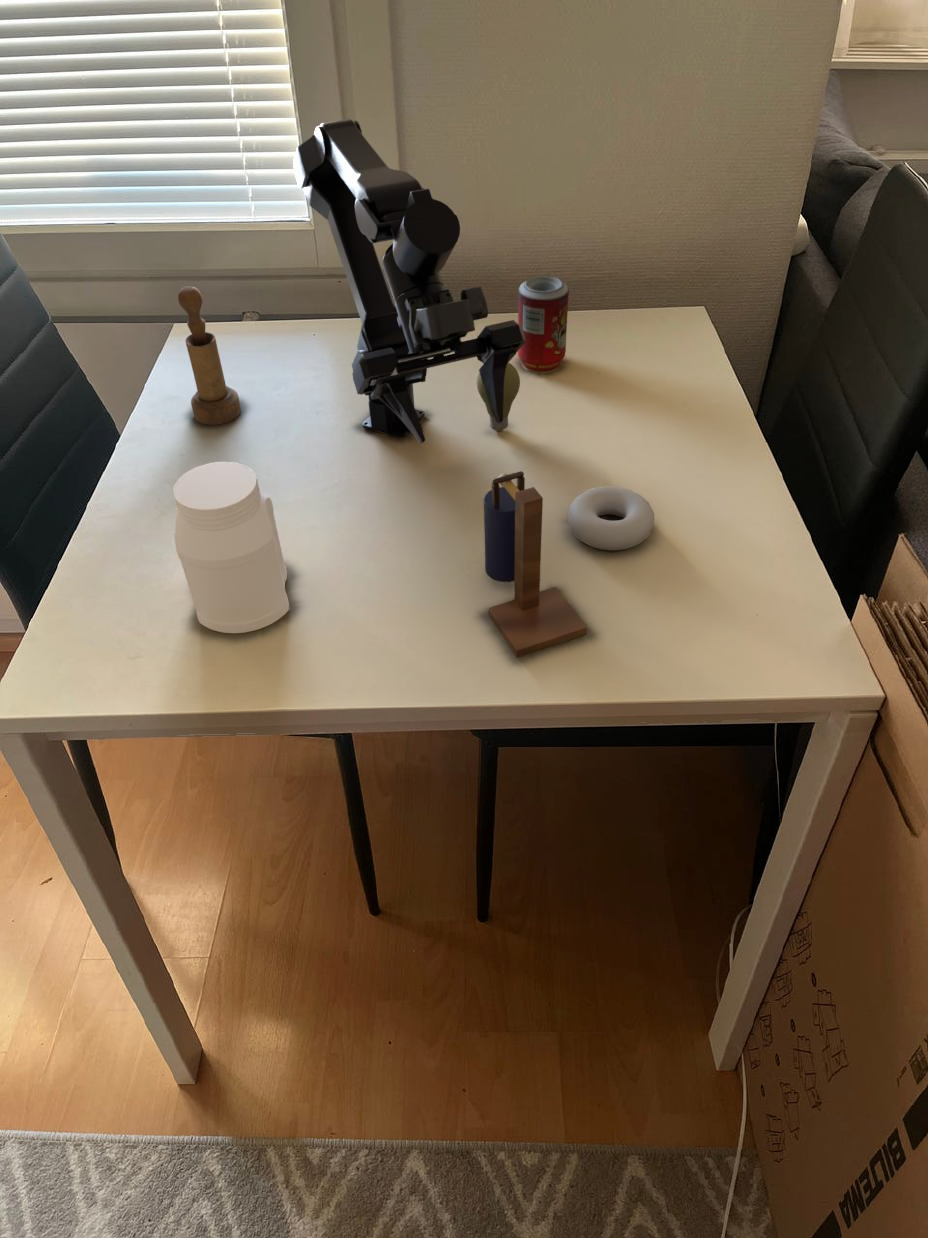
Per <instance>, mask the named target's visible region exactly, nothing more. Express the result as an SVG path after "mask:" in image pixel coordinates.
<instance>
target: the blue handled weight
mask: <svg viewBox="0 0 928 1238" xmlns="http://www.w3.org/2000/svg"><path fill="white" fill-rule="evenodd" d="M524 475H525V473H524V472H523V471H521V470H520V471H516V472H512V473H509V474H507V475H505V476H501V477H499V476H497V477H495V478H493V479H492V483H491V489H490V490H489V491H487V492H486V493H485V495H484V497H483V531H484V532H483V533H484V534H483V535H484V569H485V570H484V571H485V574H486V576H487V577H489V578H490V579H492V580H493V581H496V582H501V583H511V582H515V500H514V499H513V498H512V497H511V495H510V494H509V493H508V492H507V490H506V489H505V488H504V487H503V486H500V483H503V482H506V481H510V480H511V481H513V480H516V487H517V488H518V489H519V490H520V491H521V490H525V489H526V488H525V487H526V485H525V482H526V481H525V480H526V479H525V476H524Z"/></svg>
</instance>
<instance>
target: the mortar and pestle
mask: <svg viewBox="0 0 928 1238" xmlns="http://www.w3.org/2000/svg"><path fill="white" fill-rule="evenodd" d="M177 295H178V296H177V300H178V304H179V306H180V307H181V308H182V309H183V310H184V311H185V313H187V315H188V321H187V322H186V324H187V328H188V329H189V331H190V333H191V334H189V335H188V336H187V337H186V338H185V340H184V341H185V345H186V350H187V353H188V357H189V361H190V365H191V368H192V373H193V378H194V382H195V386H196V392H195V394H193V396H192V397H191V399H190V406H191V409H192V413H193V417H194V419H195V420H196V421H197V422H199V423H200V424H203V425H212V426H213V425H222V424H225V423H228V422H230V421H232V420H234V419H236V418H237V417H238V416H239V415H240V414H241V411H242V407H241V402H240V397H239V394H238V392H237V390H235V389H234V388H232V387H229V386H227V384H226V380H225V375H224V371H223V366H222V362H221V358H220V352H219V347H218V343H217V339H216V336H215V334H213V333H211V332H208V331H206V319H204V318H202V317H201V316H200V315H201V310H202V306H203V301H204V300H203V295H202V293H201V292H200V290H199V289H198V288H197V287H195V286H191V285H188V286H184V287H182V288H181V289H180V290H179V292H178V294H177Z"/></svg>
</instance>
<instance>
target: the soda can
mask: <svg viewBox="0 0 928 1238" xmlns="http://www.w3.org/2000/svg"><path fill="white" fill-rule="evenodd" d="M517 290H518V293H517V294H518V297H517V298H518V302H517V304H518V305H517V324H519V325H520V326H521V327H522V329H523V333H524V336H525V339H526V342H525V344H524V345H523V346H522V347H521V348H520V349H519V350H518V351H517V356H518V358H519V361H520V362H521V365H522V367H523V368H524V369H525V370H526V371H528V372H531V373H534V374H535V373H536V374H548V373H552V372H554V371H557V370H558V369H559V368H560V366H561V363H562V362H563V359H564V358H565V356H566V352H567V349H566V348H567V329H568V311H569V296H570V295H569V294H570V288H569V286H568V284H566V283H565V281H564V280H562V279H561V278H560V279H559V278H557V277H554V276H542V275H538V276H537V275H536V276H534V277H531V278H528V279H526V280H525V281H524V282H522V283H521V284H520V285H519V287H518V289H517Z"/></svg>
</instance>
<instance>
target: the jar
mask: <svg viewBox="0 0 928 1238" xmlns="http://www.w3.org/2000/svg"><path fill="white" fill-rule="evenodd" d="M172 496H173V499H174V503H175V506H176V510H175V511H176V514H175V515H176V516H175V528H174V543H175V548H176V549H175V551H176V553H177V557H178V559H179V560H180V563H181V566H182V569H183V573H184V576H185V579H186V582H187V585H188V589H189V592H190V595H191V598H192V602H193V605H194V608H195V611H196V617H197V620H198V623H199V624H201V626H203V627H205V628H206V629H209V630H211V631H215V632H218V633H224V634H244V633H250V632H255V631H257V630H260V629H263V628H266V627H268V626H270V625H272V624H274V623H275V622H278V621H279V620H280V619H281V618H282V617H284V616H285V615H286V614H287V613H288V612H289V611H290V602H289V601H290V600H289V597H288V594H287V591H286V581H287V579H288V571H287V567H286V562H285V561H284V556H283V555H284V554H283V552H282V551H283V550H282V546H281V541H280V537H279V532H278V528H277V523H276V517H275V514H274V505H273V500H272V499H271V497H269V496H268V495H266V494H265V493H264V492H262V491H261V490H260V485H259V482H258V478H257V475H256V473H255V472H254V470H252V468H250V467H248V466H247V465H245V464H242V463H239V462H235V461H215V462H209V463H205V464H202V465H199V466H196V467H194V468H192V469H189V470H188V471H186V472H184V474H182V475H181V476H180V477H179V478H178V479H177V480H176V482H175V484H174V486H173V489H172Z"/></svg>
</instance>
